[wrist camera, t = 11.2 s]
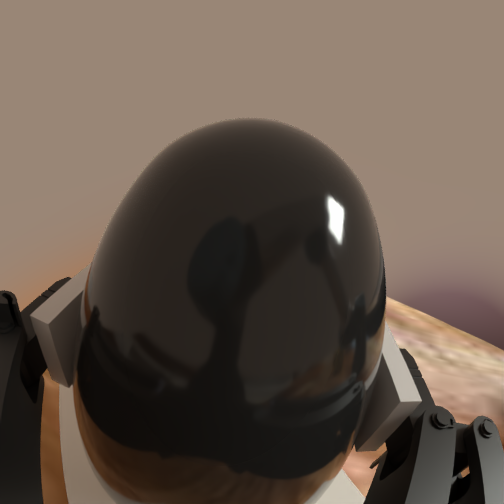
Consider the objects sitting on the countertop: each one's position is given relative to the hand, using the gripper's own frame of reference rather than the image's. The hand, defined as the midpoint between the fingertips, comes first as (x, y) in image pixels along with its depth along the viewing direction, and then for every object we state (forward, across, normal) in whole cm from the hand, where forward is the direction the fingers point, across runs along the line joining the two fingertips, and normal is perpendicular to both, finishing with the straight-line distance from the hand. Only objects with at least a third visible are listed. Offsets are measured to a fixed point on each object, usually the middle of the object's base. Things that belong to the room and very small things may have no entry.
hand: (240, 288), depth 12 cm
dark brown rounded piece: (-4, 0, -9) cm, 10 cm away
